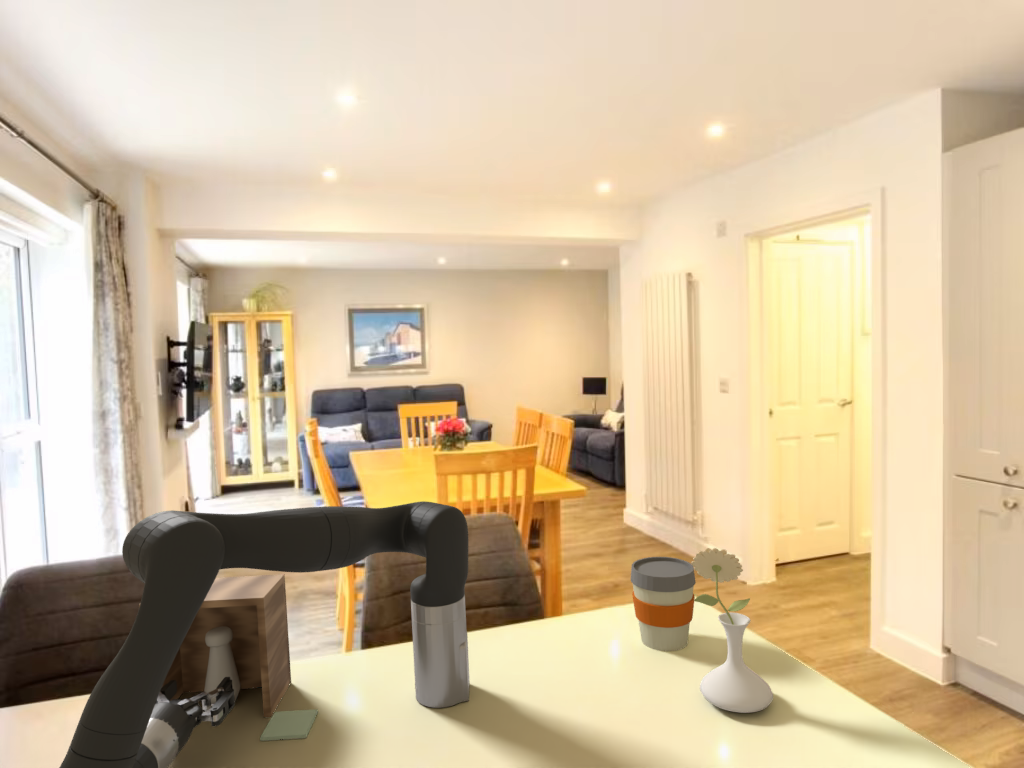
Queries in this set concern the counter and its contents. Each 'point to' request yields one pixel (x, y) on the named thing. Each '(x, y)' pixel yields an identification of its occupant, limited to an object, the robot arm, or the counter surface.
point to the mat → (289, 725)
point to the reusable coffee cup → (663, 601)
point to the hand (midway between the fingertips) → (201, 683)
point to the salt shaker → (220, 660)
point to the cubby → (240, 637)
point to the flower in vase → (730, 642)
